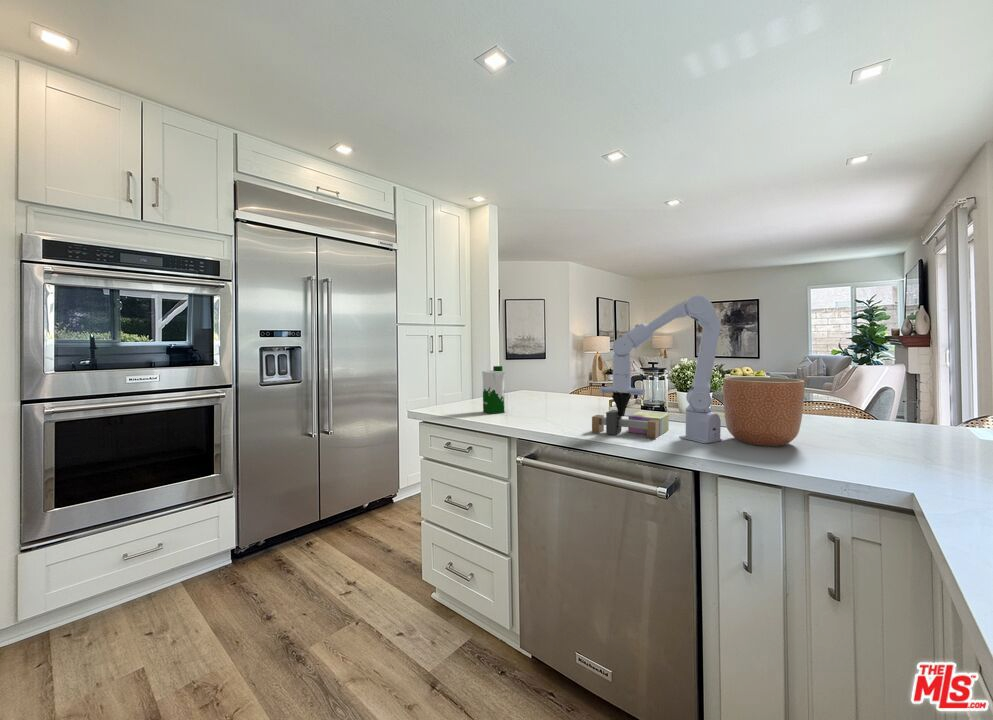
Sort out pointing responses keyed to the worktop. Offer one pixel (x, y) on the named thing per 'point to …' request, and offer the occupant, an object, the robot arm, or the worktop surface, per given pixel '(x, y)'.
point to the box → (647, 417)
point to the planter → (763, 409)
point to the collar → (612, 422)
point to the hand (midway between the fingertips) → (621, 416)
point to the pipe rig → (627, 425)
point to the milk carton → (493, 390)
